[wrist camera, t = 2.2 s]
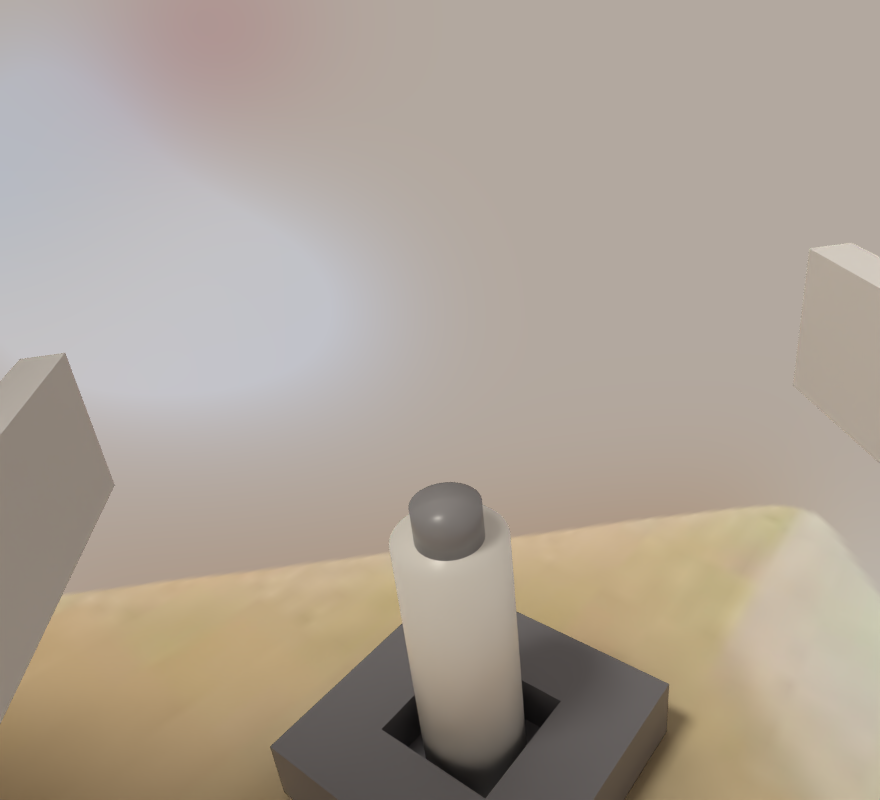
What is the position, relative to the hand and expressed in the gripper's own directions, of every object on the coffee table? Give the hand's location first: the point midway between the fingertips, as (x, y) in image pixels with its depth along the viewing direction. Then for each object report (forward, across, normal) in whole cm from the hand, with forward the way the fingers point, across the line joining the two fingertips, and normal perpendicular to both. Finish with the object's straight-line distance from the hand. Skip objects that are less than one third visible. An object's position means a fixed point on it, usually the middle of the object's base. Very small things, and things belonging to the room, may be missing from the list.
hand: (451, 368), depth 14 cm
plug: (+10, 0, -24) cm, 26 cm away
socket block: (+10, 0, -24) cm, 26 cm away
